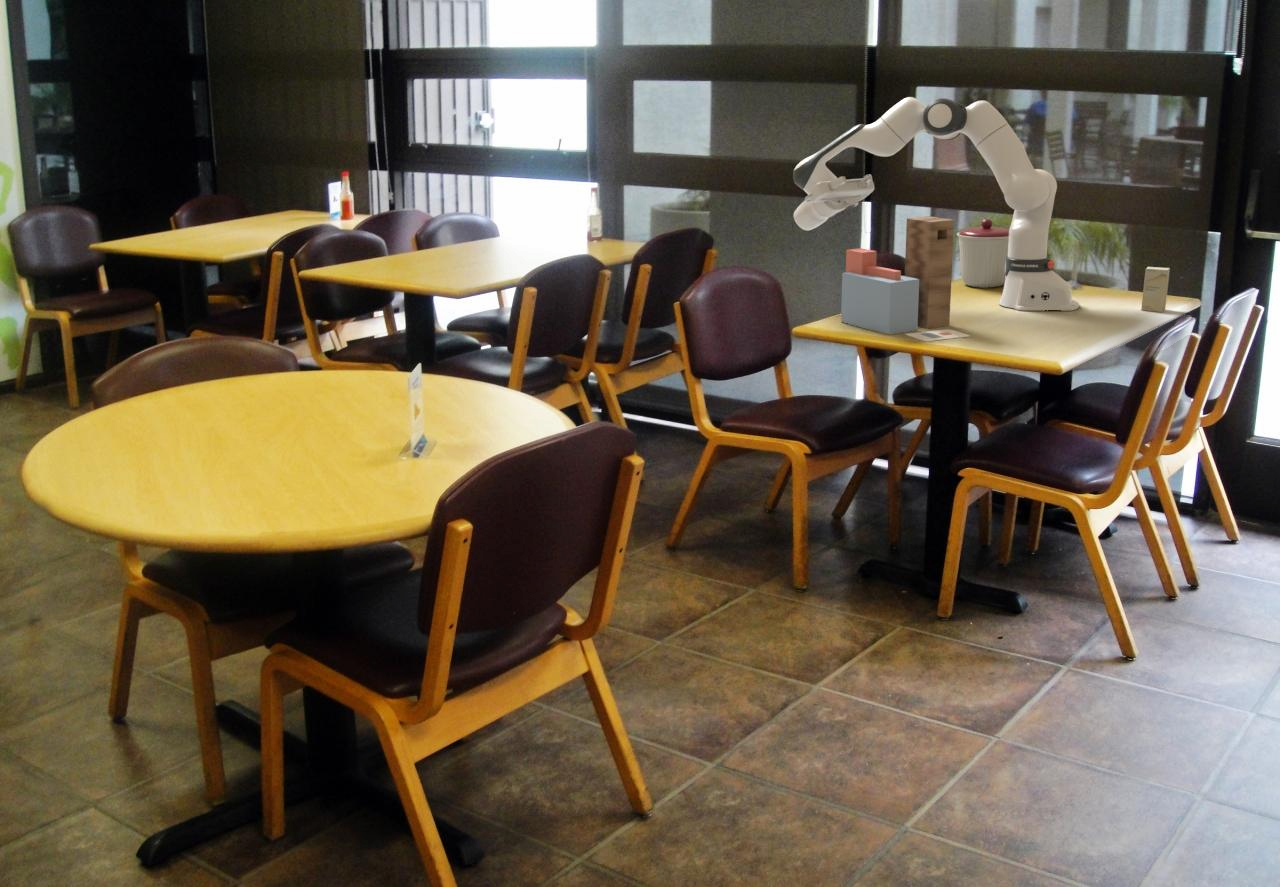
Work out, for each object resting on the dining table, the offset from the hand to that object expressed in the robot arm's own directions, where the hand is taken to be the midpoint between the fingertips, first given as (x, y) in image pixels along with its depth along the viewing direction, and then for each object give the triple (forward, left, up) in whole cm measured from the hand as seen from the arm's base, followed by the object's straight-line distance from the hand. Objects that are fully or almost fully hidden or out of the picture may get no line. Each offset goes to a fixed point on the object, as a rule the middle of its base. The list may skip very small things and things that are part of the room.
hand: (856, 177), depth 392 cm
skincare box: (-83, -19, -39) cm, 94 cm away
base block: (-10, +21, -38) cm, 45 cm away
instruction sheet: (-27, +30, -38) cm, 56 cm away
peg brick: (-9, +20, -24) cm, 33 cm away
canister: (-33, -51, -39) cm, 72 cm away
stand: (-23, +16, -38) cm, 47 cm away
